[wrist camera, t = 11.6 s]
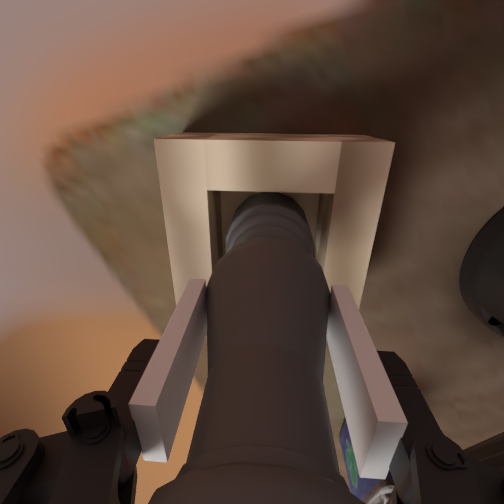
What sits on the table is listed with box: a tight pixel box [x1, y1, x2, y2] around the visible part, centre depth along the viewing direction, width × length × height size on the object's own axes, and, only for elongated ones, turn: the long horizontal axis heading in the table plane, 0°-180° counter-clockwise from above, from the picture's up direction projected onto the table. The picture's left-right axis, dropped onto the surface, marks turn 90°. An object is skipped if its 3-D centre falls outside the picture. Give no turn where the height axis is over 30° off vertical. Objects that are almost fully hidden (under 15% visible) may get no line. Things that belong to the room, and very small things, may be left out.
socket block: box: [154, 132, 395, 310], centre depth 22 cm, size 14×14×6 cm
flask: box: [340, 417, 395, 504], centre depth 32 cm, size 9×3×11 cm, turn 172°
